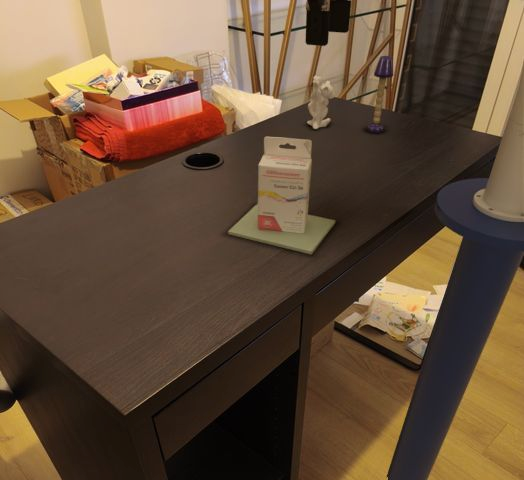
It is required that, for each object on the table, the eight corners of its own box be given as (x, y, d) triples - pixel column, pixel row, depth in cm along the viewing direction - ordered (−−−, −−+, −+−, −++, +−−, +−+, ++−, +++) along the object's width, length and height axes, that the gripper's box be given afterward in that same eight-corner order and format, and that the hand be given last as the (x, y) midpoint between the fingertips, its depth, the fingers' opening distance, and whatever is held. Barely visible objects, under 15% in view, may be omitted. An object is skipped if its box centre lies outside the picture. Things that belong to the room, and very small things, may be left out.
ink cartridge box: (257, 230, 85) (256, 145, 75) (262, 217, 89) (262, 135, 79) (304, 234, 84) (310, 149, 74) (308, 221, 88) (313, 138, 78)
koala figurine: (319, 132, 123) (323, 80, 115) (297, 127, 127) (300, 76, 118) (336, 123, 128) (341, 73, 120) (315, 118, 131) (319, 69, 123)
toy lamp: (363, 127, 126) (373, 55, 115) (379, 126, 127) (391, 54, 115) (370, 134, 123) (381, 59, 111) (387, 132, 123) (399, 58, 112)
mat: (335, 223, 88) (335, 220, 88) (311, 254, 80) (311, 251, 80) (257, 206, 93) (257, 203, 93) (228, 234, 85) (227, 231, 85)
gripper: (346, -129, 52) (333, 52, 64) (385, -125, 63) (368, 29, 75) (282, -126, 54) (281, 48, 66) (331, -122, 66) (323, 26, 77)
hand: (327, 38), depth 71 cm, fingers open, 9 cm apart
